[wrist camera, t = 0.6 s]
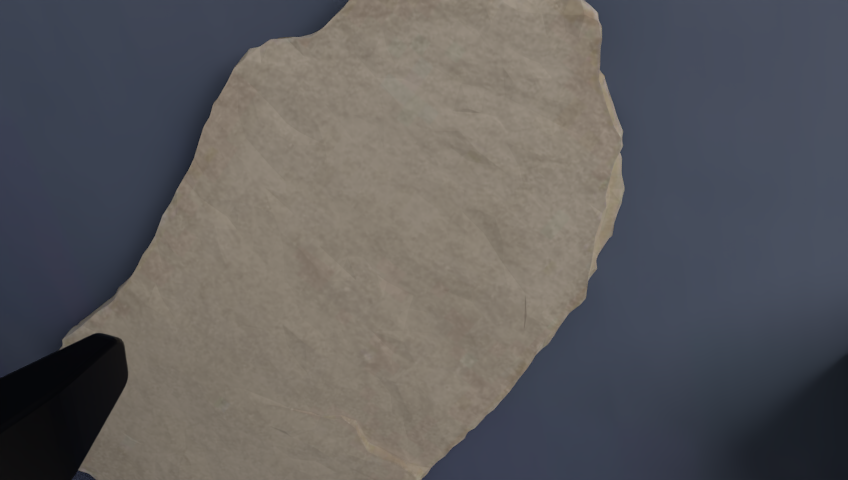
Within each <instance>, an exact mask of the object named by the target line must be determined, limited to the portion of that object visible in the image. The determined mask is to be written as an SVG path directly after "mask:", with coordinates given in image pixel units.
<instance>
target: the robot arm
mask: <svg viewBox="0 0 848 480" xmlns="http://www.w3.org/2000/svg"><path fill="white" fill-rule="evenodd" d="M127 380H128V365H127V358H126V352H125V345H124V342H123V341H122V339H121V338H119V337H115V336H111V335H108V334H104V333H95V334H92V335H90V336H87V337H85V338H83V339H81V340H79V341H77V342H75V343H73V344H71V345H69V346H67V347H64V348H62V349H60V350H58V351H56V352H54V353H52V354H50V355H48V356H46V357H44V358H41V359H39V360H37V361H35V362H33V363H31V364H29V365H27V366H25V367H23V368H20V369H18V370H16V371H14V372H12V373H10V374H8V375H6V376H4V377H2V378H0V480H72V478H73V477H74V475H75V474H76V472H77V471H78V469H79V468H80V466H81V464H82V463H83V461H84V459H85V458H86V456H87V454H88V452H89V451H90V449H91V447H92V445H93V443H94V442H95V440H96V438H97V436H98V435H99V433H100V431H101V429H102V427H103V426H104V424H105V422H106V420H107V418H108V417H109V415H110V413H111V411H112V410H113V408H114V406H115V404H116V402H117V401H118V399H119V397H120V395H121V394H122V392H123V390H124V388H125V386H126V383H127Z"/></svg>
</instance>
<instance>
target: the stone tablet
mask: <svg viewBox="0 0 848 480" xmlns="http://www.w3.org/2000/svg"><path fill="white" fill-rule="evenodd" d="M601 41H602V26H601V24H600V22H599V20H598V13H597V12H596V11H595V10H594V9H593V8H592V7H591V6H590V5H589V4H588V3H587V2H585V1H584V0H349V1H348V3H347V4H346V5H345V6H344V7H343V8H342V9H341V10H340V11H339V12H338V13H337V14H336V15H335V16H334V17H333V18H332V19H331V20H330V21H329V22H328V23H327V24H326V25H325V26H324V27H323V28H322V29H321V30H319V31H317V32H315V33H313V34H311V35H306V36H302V37H284V38H278V39H271V40H269V41H267V42H266V43H265V44H263V45H262V46H260V47H257V48H251V49H249V50H248V51H247V53H246V54H245V55H244V56H243V58H242V59H241V60H240V61H239V63H238V64H237V65H236V66H235V68H234V70H233V72H232V74H231V76H230V78H229V80H228V82H227V83H226V85H225V87H224V89H223V90H222V92H221V94H220V96H219V97H218V99H217V100H216V101H215V102H214V103H213V106H212V110H211V114H210V117H209V119H208V120H207V122H206V124H205V125H204V127H203V130H202V134H201V137H200V140H199V143H198V147H197V150H196V153H195V157H194V160H193V162H192V164H191V166H190V168H189V170H188V172H187V173H186V175H185V177H184V178H183V180H182V182H181V184H180V185H179V187H178V189H177V191H176V193H175V195H174V197H173V200H172V202H171V203H170V205H169V206H168V208H167V209H166V211H165V213H164V214H163V216H162V218H161V221H160V224H159V227H158V229H157V232H156V235H155V237H154V239H153V240H152V242H151V244H150V246H149V247H148V249H147V250H146V251H145V252H144V253H143V255H142V258H141V260H140V262H139V264H138V266H137V268H136V269H135V271H134V273H133V274H132V276H131V277H130V278H129V279H128V280H127V281H126V282H125V283H123V284H122V285H121V286H120V287H119V288H118V290H117V292H116V294H115V295H114V296H113V297H112V298H111V299H109V300H108V301H106V302H105V303H104V304H103V305H101V306H100V307H99V308H98V309H96V310H95V311H94V312H93V313H92V314H90V315H89V316H88V317H86V318H85V319H83V320H82V321H81V322H79V325H77V326H74V327H73V328H72V329H71V330H70V331H69V332H68V333H67V335H66V336H65V337H64V338H63V339H62V342H63V345H62V347H61V348H60V349H62V348H64V347H67V346H69V345H71V344H73V343H75V342H77V341H79V340H81V339H83V338H85V337H87V336H90V335H92V334H95V333H104V334H108V335H111V336H115V337H119V338H121V339H122V341H123V342H124V345H125V352H126V358H127V365H128V380H127V383H126V386H125V388H124V390H123V392H122V394H121V395H120V397H119V399H118V401H117V402H116V404H115V406H114V408H113V410H112V411H111V413H110V415H109V417H108V418H107V420H106V422H105V424H104V426H103V427H102V429H101V431H100V433H99V435H98V436H97V438H96V440H95V442H94V443H93V445H92V447H91V449H90V451H89V452H88V454H87V456H86V458H85V459H84V461H83V463H82V464H81V466H80V468H79V469H78V470H79V471H82V472H85V473H88V474H90V475H91V476H92V477H94V478H95V479H96V480H421V479H422V478H423V477H424V476H425V475H427V474H428V472H429V470H430V469H431V467H432V466H433V465H434V464H435V463H436V462H437V461H439V460H440V459H441V458H443V457H444V456H445V455H446V454H447V453H448V452H449V451H450V450H451V448H452V447H454V446H455V445H456V444H458V443H459V442H461V441H462V440H463V439H464V438H465V436H466V434H467V433H468V431H470V430H472V429H474V428H475V427H476V426H477V425H478V424H479V423H480V422H481V421H482V420H483V419H484V417H485V416H486V415H487V414H488V413H490V412H491V411H492V410H494V409H495V408H496V406H497V405H498V404H499V403H500V402H501V400H502V399H503V398H504V397H505V396H506V395H507V394H508V393H509V392H510V390H511V389H512V387H513V386H514V385H515V383H516V382H517V380H518V379H519V378H520V377H521V375H522V374H523V373H524V372H525V370H526V369H527V368H528V366H529V365H530V364H531V362H532V360H533V359H534V357H535V355H536V354H537V353H538V352H539V351H540V350H541V349H542V348H543V347H545V346H546V345H547V344H548V343H549V342H550V340H551V339H552V337H553V336H554V335H555V333H556V331H557V330H558V328H559V326H560V325H561V324H562V322H563V321H564V319H565V318H566V317H567V315H568V314H569V313H570V312H571V311H572V310H574V309H575V308H576V307H578V306H579V305H580V304H581V303H582V302H583V301H584V300H585V298H586V292H587V284H588V280H589V278H590V277H591V276H592V274H593V273H594V272H595V271H596V269H597V264H596V259H597V256H598V254H599V253H600V251H601V249H602V248H603V246H604V245H605V243H606V242H607V240H608V239H609V238H610V237H611V236H612V234H613V229H614V222H615V219H616V216H617V213H618V210H619V208H620V205H621V203H622V196H623V192H624V183H623V179H622V173H621V167H622V157H621V154H620V151H621V149H622V147H623V144H622V135H623V130H622V127H621V125H620V122H619V120H618V117H617V115H616V111H615V108H614V105H613V102H612V99H611V96H610V94H609V91H608V88H607V84H606V81H605V76H604V75H603V74H602V73H601V71H600V49H601ZM60 349H59V350H60Z"/></svg>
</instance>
